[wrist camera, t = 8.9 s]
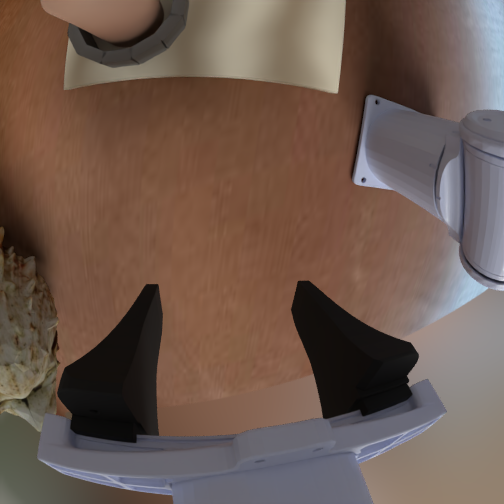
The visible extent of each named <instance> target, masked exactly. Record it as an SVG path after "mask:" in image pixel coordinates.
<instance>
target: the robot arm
mask: <svg viewBox="0 0 504 504" xmlns="http://www.w3.org/2000/svg"><path fill="white" fill-rule="evenodd" d="M375 100H377V102H378V103H377V104H376V103H375ZM363 177H364V180H363V181H362V182H361V179H362V178H363ZM352 181H353V182H354V183H355V184H357V185H362V186H370V187H377V188H383V189H390V190H395V191H397V192H398V193H400V194H402V195H403V196H405V197H407V198H408V199H410V200H411V201H413V202H414V203H416V204H418V205H419V206H421V207H422V208H424V209H425V210H427V211H428V212H430V213H431V214H433V215H434V216H435V217H437V218H438V219H440V220H441V221H443V222H444V223H445V224H446V225H447V226H448V229H449V235H450V236H451V237H452V238H453V239H455V240H456V241H457V242H458V243H460V246H459V256H460V260H461V263H462V265H463V267H464V269H465V270H466V271H467V273H468V274H469V275H470V276H471V277H472V278H473V279H474V280H476V281H477V282H479V283H480V284H482V285H484V286H486V287H488V288H491V289H494V290H501V291H504V111H499V110H477V111H473V112H470V113H469V114H467V115H466V117H465V118H463V119H462V120H461V121H460V122H459V123H458V122H455V121H451V120H447V119H443V118H439V117H435V116H431V115H426V114H422V113H419V112H417V111H415V110H412V109H410V108H407V107H405V106H402V105H400V104H397V103H394V102H392V101H389V100H386V99H383V98H380V97H377V96H374V95H368V96H367V97H366V100H365V108H364V115H363V121H362V128H361V134H360V140H359V145H358V151H357V156H356V162H355V167H354V172H353V177H352ZM291 311H292V315H293V319H294V323H295V326H296V329H297V331H298V334H299V336H300V338H301V341H302V343H303V346H304V348H305V350H306V353H307V355H308V357H309V360H310V363H311V366H312V370H313V373H314V377H315V380H316V384H317V389H318V393H319V398H320V403H321V407H322V414H323V418H316V419H310V420H305V421H300V422H295V423H289V424H283V425H278V426H270V427H263V428H257V429H252V430H247V431H245V432H242V433H240V434H233V435H218V436H190V437H189V436H187V437H185V436H184V437H183V436H180V437H179V436H159V432H158V419H157V397H156V373H157V363H158V356H159V349H160V342H161V335H162V320H163V313H162V307H161V300H160V293H159V286H158V284H146V285H145V287H144V288H143V290H142V291H141V293H140V295H139V296H138V298H137V299H136V301H135V302H134V304H133V305H132V306H131V308H130V309H129V311H128V312H127V313H126V315H125V316H124V317H123V319H122V320H121V321H120V322H119V324H118V325H117V326H116V327H115V328H114V329H113V330H112V331H111V333H110V334H109V335H108V336H107V337H106V338H105V339H104V340H102V341H101V342H100V343H99V344H98V345H97V346H96V347H95V348H93V349H92V350H91V351H90V352H88V353H87V354H86V355H84V356H83V357H81V358H80V359H78V360H77V361H75V362H74V363H72V364H70V365H69V366H67V367H65V369H64V371H63V374H62V377H61V380H60V384H59V388H58V392H57V394H58V397H59V399H60V400H61V402H62V403H63V404H64V405H65V406H66V408H67V409H68V410H69V411H70V412H71V413H72V420H70V419H68V418H66V417H63V416H58V415H54V414H50V413H45V416H44V420H43V425H42V430H41V436H40V442H39V448H38V456H37V458H38V459H39V460H40V461H42V462H44V463H45V464H47V465H49V466H51V467H52V468H54V469H56V470H58V471H59V472H61V473H63V474H65V475H69V476H72V477H76V478H79V479H84V480H87V481H91V482H95V483H99V484H104V485H108V486H113V487H118V488H123V489H128V490H134V491H141V492H148V493H157V494H167V495H173V503H174V504H373V501H372V498H371V496H370V493H369V490H368V488H367V485H366V482H365V480H364V477H363V475H362V472H361V469H360V467H359V463H362V462H364V461H366V460H369V459H371V458H373V457H375V456H378V455H380V454H382V453H384V452H386V451H388V450H390V449H392V448H394V447H396V446H398V445H400V444H402V443H404V442H406V441H408V440H409V439H411V438H413V437H415V436H417V435H419V434H420V433H422V432H424V431H425V430H426V429H427V428H429V427H430V426H431V425H432V424H434V423H435V422H436V421H437V420H438V419H440V418H441V417H442V416H443V415H444V414H445V413H446V412H447V410H446V409H445V407H444V405H443V403H442V402H441V400H440V399H439V397H438V395H437V393H436V392H435V390H434V388H433V387H432V385H431V383H430V382H429V380H428V379H425V380H423V381H421V382H418V383H416V384H414V385H412V386H411V387H410V388H409V386H408V385H407V383H408V382H409V379H408V377H407V375H408V373H409V372H410V371H411V370H412V368H413V367H414V366H415V364H416V363H417V361H418V358H419V354H418V353H417V351H416V350H415V348H414V347H413V345H412V344H411V343H410V342H407V341H404V340H400V339H397V338H394V337H392V336H389V335H387V334H384V333H382V332H380V331H378V330H376V329H374V328H372V327H370V326H368V325H366V324H365V323H363V322H361V321H360V320H358V319H356V318H355V317H353V316H352V315H350V314H349V313H348V312H346V311H345V310H344V309H342V308H341V307H340V306H338V305H337V304H336V303H335V302H333V301H332V300H331V299H330V298H329V297H327V296H326V295H325V294H324V293H323V292H322V291H320V290H319V289H318V288H317V287H316V286H315V285H314V284H312V283H311V282H310V281H298V283H297V287H296V292H295V296H294V300H293V304H292V308H291Z"/></svg>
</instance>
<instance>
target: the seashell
mask: <svg viewBox="0 0 504 504" xmlns="http://www.w3.org/2000/svg"><path fill="white" fill-rule="evenodd" d="M3 238H4V227H3V226H2V227H1V228H0V414H1V413H2V412H4V411H7V412H9V413H11V414H14V415H18V416H20V417H22V418H24V419H25V420H27V421H28V422H29V423H30V424H31V425H32V426H33V427H34V428H35V429H36V430H37V431H40V432H41V430H42V425H43V420H44V416H45V413H50V414H54V415H55V414H56V394H55V388H56V374H57V367H58V366H59V364H60V362H59V361H57V358H56V352H57V351H58V350H59V346H58V343H57V330H56V328H57V324H58V322H59V319H58V317H57V312H56V310H55V305H54V298H53V297H52V295H51V293H50V291H49V289H48V287H47V285H46V283H45V281H44V279H43V277H41V276H40V275H39V274H38V273H37V272H36V264H35V256H31V257H28V258H26V259H24V258H23V257H22V256H17V255H16V253H14V247H13V246H11V247H10V248H5V247H3V246H2V242H3Z"/></svg>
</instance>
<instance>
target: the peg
mask: <svg viewBox="0 0 504 504" xmlns="http://www.w3.org/2000/svg"><path fill="white" fill-rule="evenodd" d="M41 5H42V7H43V9H44V10H45V11H46V12H47V13H49V14H51V15H53V16H55V17H58V18H60V19H62V20H64V21H67V22H69V23H71V24H73V25H75V26H77V27H79V28H81V29H83V30H85V31H87V32H89V33H91V34H93V35H95V36H97V37H99V38H101V39H103V40H105V41H106V42H108V43H110V44H112V45H114V46H117V47H125V48H126V47H132V46H134V45H136V44H137V43H139V42H141V41H142V40H144V39H146V38H148V37H150V36H151V35H153V34H154V33H155V32H156V31H157V30H158V28H159V27H160V26H161V25H162V22H163V19H164V9H163V6H162V4H161V2H160V0H41Z"/></svg>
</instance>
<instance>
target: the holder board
mask: <svg viewBox="0 0 504 504" xmlns="http://www.w3.org/2000/svg"><path fill="white" fill-rule="evenodd" d="M160 2H161V4H162V6H163V9H164V19H163V22H162V25H161V26H160V27H159V28H158V30H157V31H156V32H155V33H154V34H153V35H151V36H150V37H148V38H146V39H144V40H142V41H141V42H139V43H137V44H136V45H134V46H132V47H126V48H125V47H117V46H114V45H112V44H110V43H108V42H106V41H105V40H103V39H101V38H99V37H97V36H95V35H93V34H91V33H89V32H87V31H85V30H83V29H81V28H79V27H77V26H75V25H73V24H71V23H69V28H68V37H69V41H68V48H67V56H66V65H65V76H64V90H70V89H75V88H80V87H85V86H90V85H96V84H102V83H109V82H116V81H124V80H134V79H145V78H161V77H221V78H237V79H248V80H258V81H267V82H274V83H281V84H288V85H294V86H300V87H305V88H310V89H315V90H320V91H324V92H329V93H338V86H339V78H340V69H341V59H342V48H343V36H344V22H345V5H346V0H160Z"/></svg>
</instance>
